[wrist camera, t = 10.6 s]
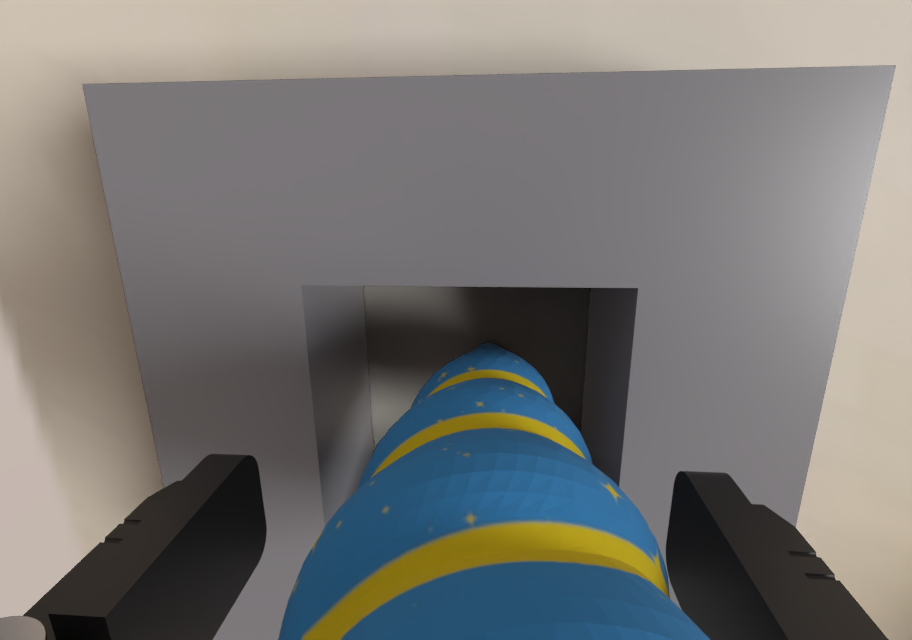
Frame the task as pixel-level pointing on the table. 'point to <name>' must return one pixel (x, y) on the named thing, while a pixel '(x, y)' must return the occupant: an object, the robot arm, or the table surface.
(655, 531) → the socket block
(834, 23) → the table surface
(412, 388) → the table surface
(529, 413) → the ornament
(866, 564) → the table surface
